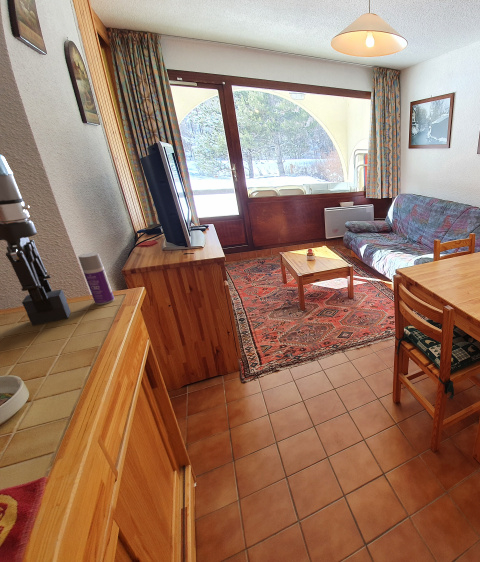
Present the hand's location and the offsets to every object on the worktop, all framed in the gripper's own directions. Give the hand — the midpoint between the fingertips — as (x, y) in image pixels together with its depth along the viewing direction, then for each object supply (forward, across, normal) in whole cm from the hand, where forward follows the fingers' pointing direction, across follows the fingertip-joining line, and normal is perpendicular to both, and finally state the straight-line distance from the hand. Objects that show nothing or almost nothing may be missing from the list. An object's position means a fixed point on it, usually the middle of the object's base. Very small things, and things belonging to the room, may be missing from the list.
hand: (47, 306), depth 84 cm
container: (+4, +5, -11) cm, 13 cm away
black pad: (+4, 0, 0) cm, 4 cm away
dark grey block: (0, 0, 0) cm, 0 cm away
